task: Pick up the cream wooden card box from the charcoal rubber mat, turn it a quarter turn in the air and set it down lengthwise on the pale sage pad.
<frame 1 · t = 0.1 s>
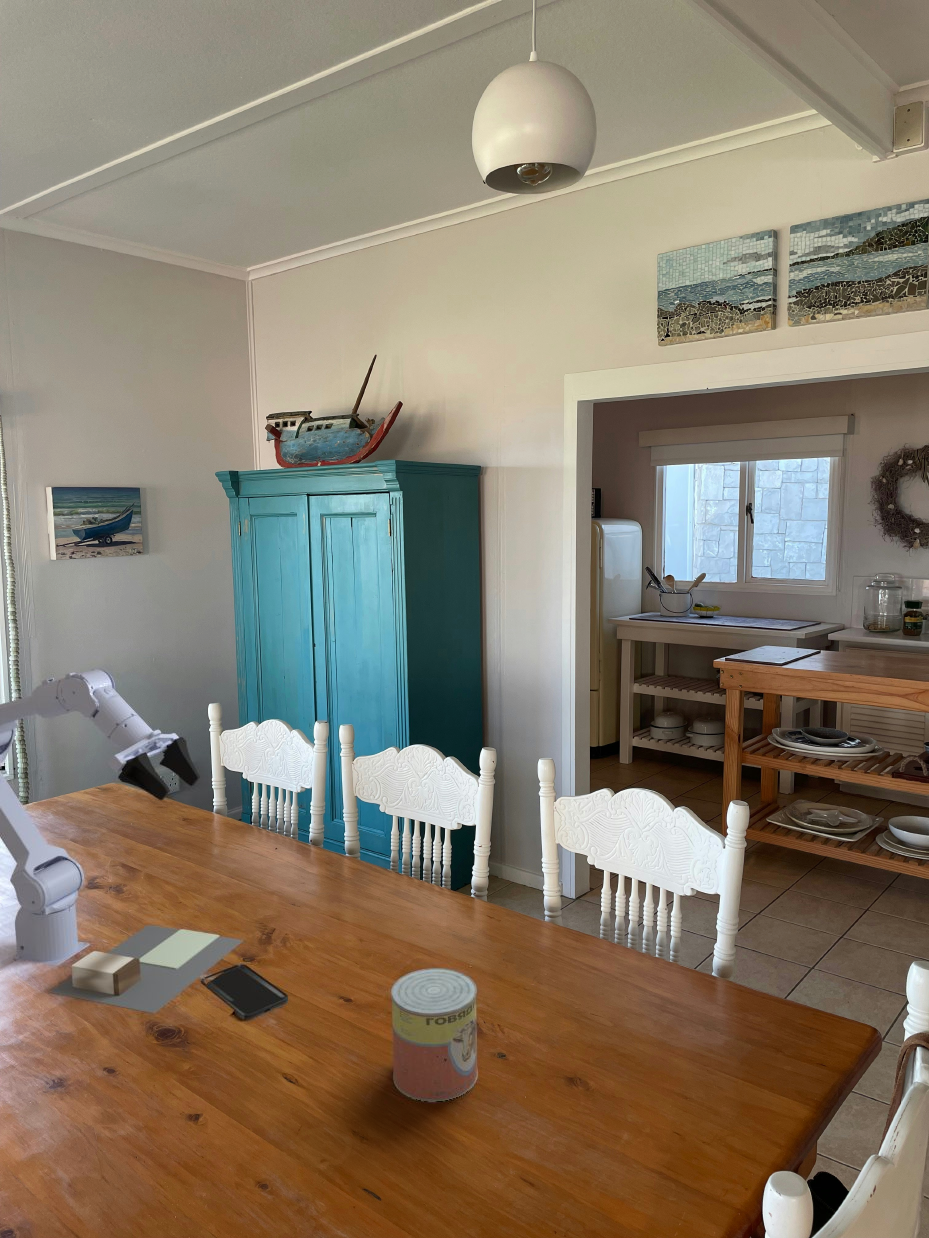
hand: (181, 788, 140), 32 cm above the table, tool tilted 50°, fingers open, 7 cm apart
canned food: (435, 1075, 118), on the table
mat: (151, 968, 148), on the table
phone: (244, 996, 140), on the table
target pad: (179, 948, 153), resting on mat
card box: (107, 982, 142), point 1 cm above the table, touching mat
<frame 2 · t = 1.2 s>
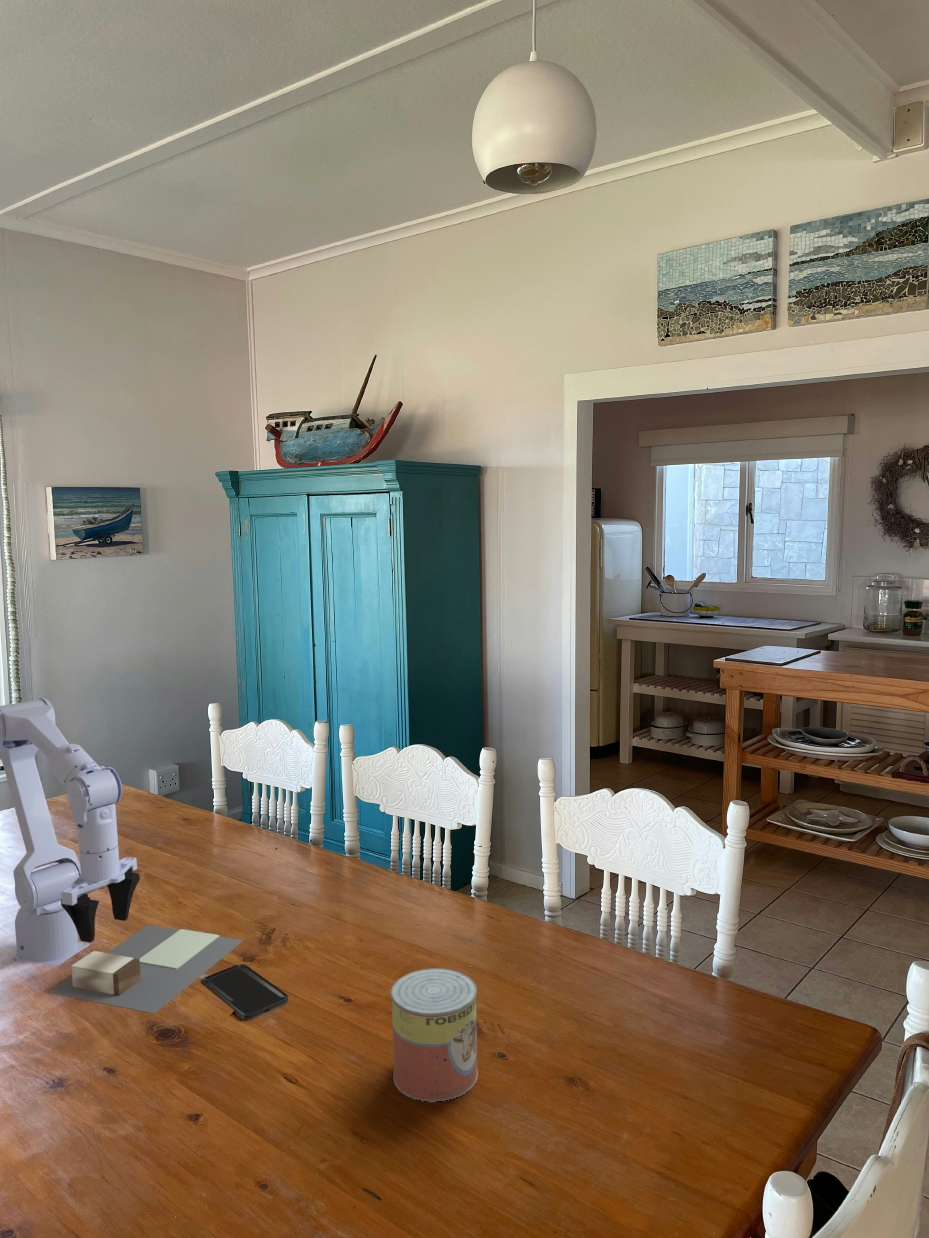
hand: (104, 929, 141), 10 cm above the table, tool pointing down, fingers open, 7 cm apart
nothing on the table moved.
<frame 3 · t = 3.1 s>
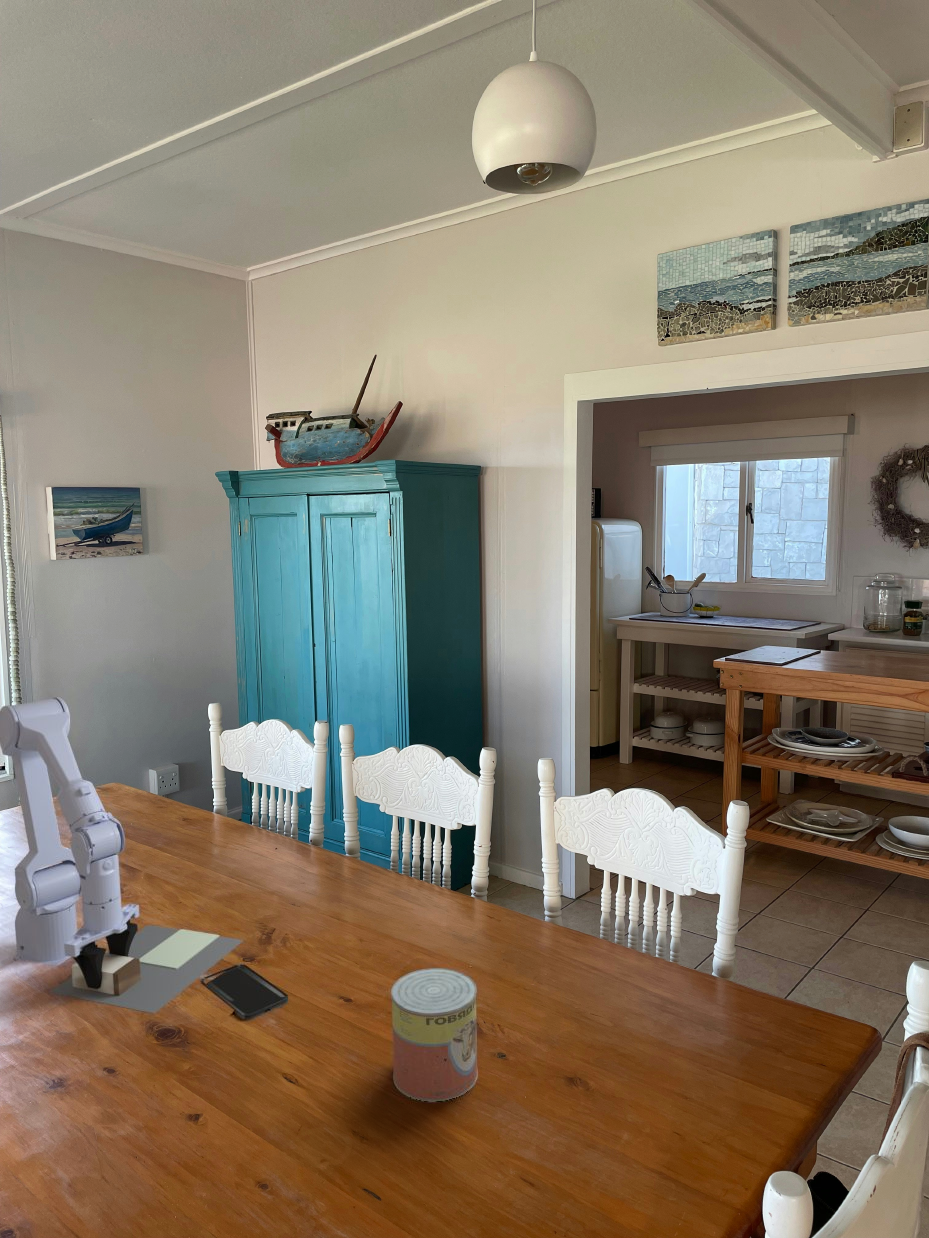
hand: (106, 978, 142), 1 cm above the table, tool pointing down, fingers closed on card box, 5 cm apart
card box: (107, 982, 142), point 1 cm above the table, touching gripper, mat
everything else where it was.
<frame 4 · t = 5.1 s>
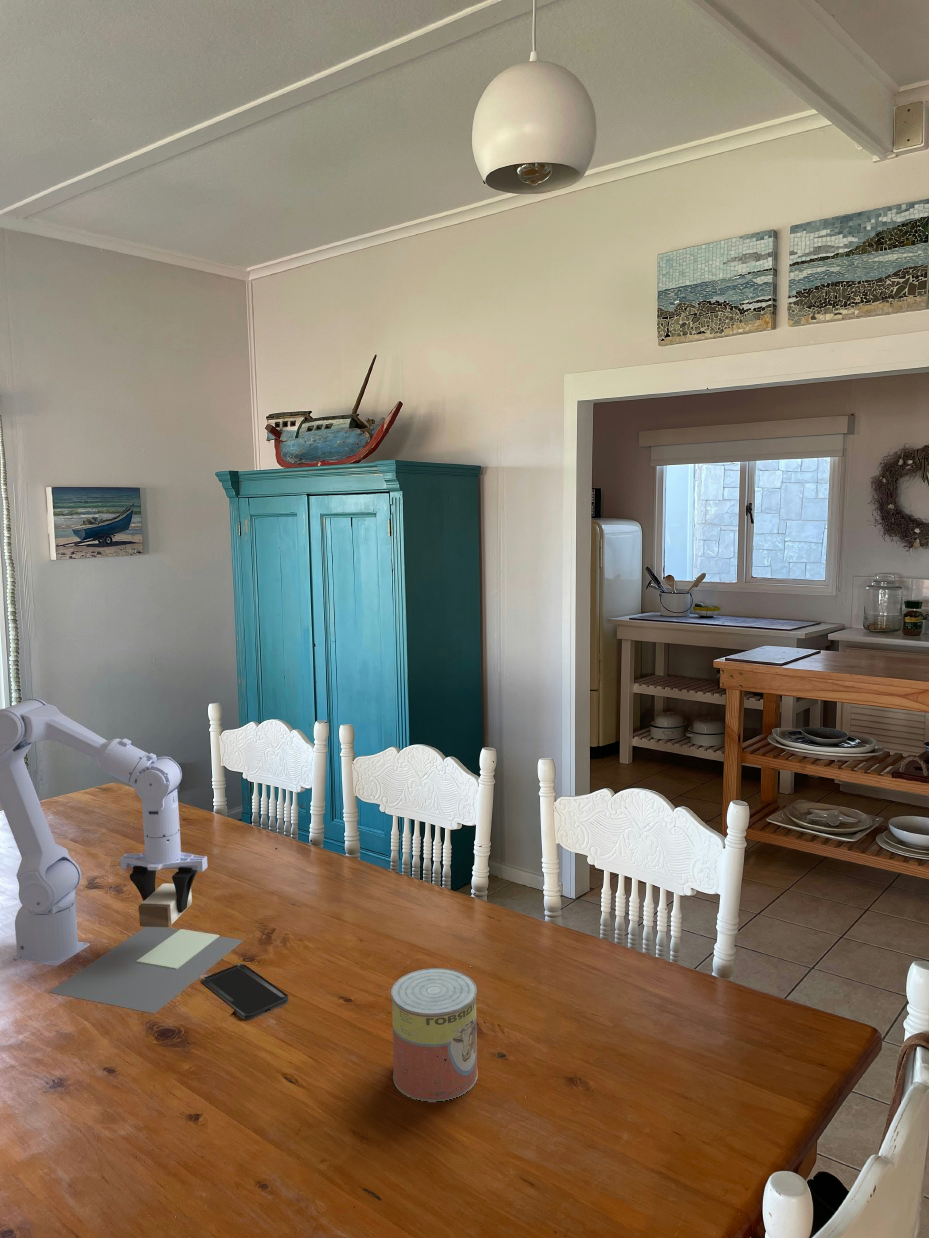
hand: (166, 909, 150), 8 cm above the table, tool pointing down, fingers closed on card box, 5 cm apart
card box: (166, 914, 150), point 8 cm above the table, touching gripper
everything else where it was.
when the fingers open (3 cm above the table, at t = 7.2 s): card box drops 1 cm, resting on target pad.
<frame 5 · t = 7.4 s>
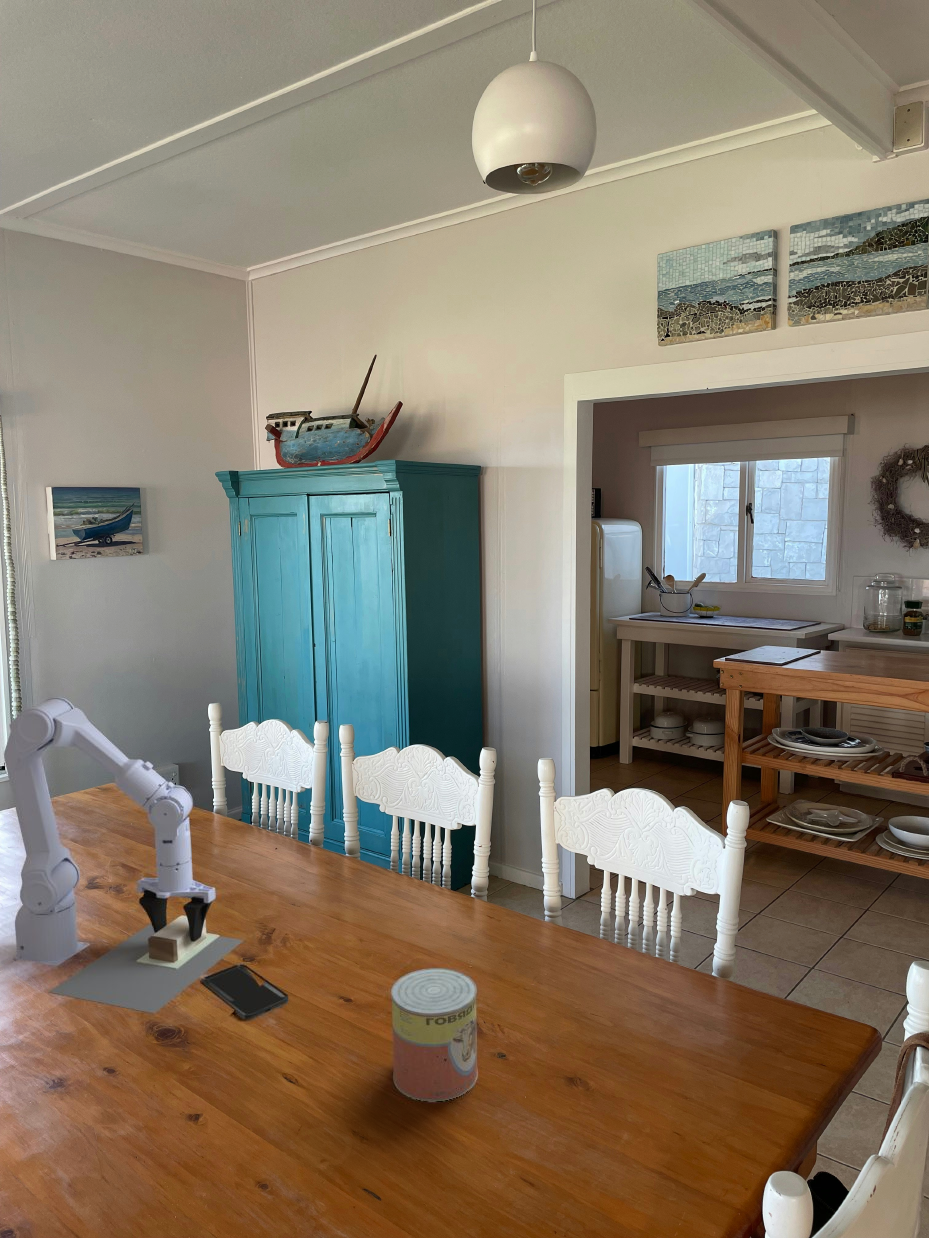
hand: (178, 935, 152), 3 cm above the table, tool pointing down, fingers open, 7 cm apart
card box: (178, 947, 153), point 1 cm above the table, touching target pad
everything else where it was.
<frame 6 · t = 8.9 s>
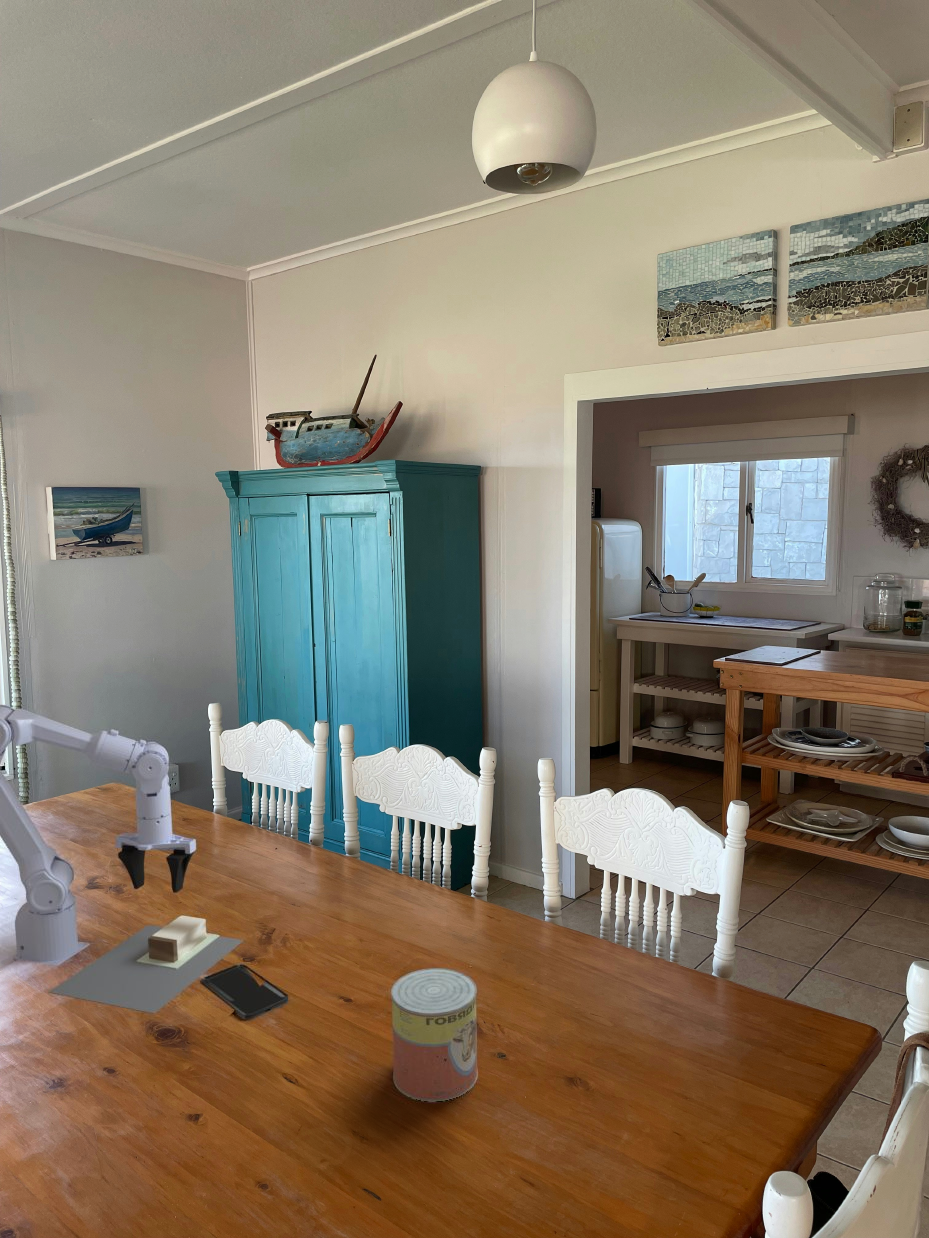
hand: (158, 888, 156), 9 cm above the table, tool pointing down, fingers open, 7 cm apart
nothing on the table moved.
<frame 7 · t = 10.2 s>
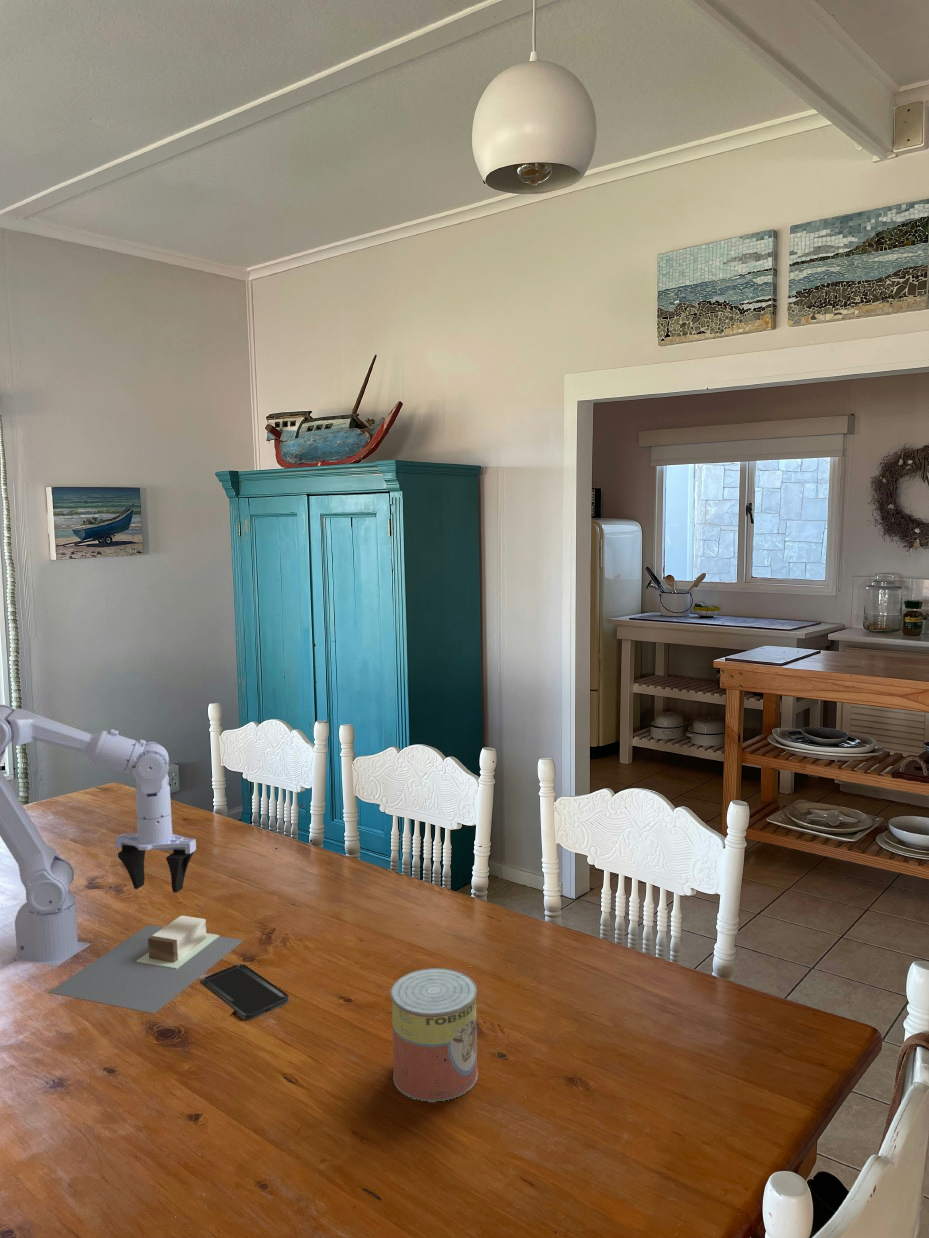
hand: (158, 888, 156), 9 cm above the table, tool pointing down, fingers open, 7 cm apart
nothing on the table moved.
at the end: card box 0.1 cm off-centre on the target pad, point 0.2 cm above the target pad's base; card box tilted 0°; the gripper is holding nothing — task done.
